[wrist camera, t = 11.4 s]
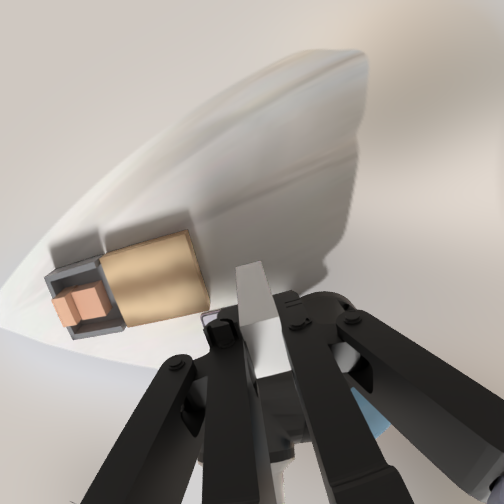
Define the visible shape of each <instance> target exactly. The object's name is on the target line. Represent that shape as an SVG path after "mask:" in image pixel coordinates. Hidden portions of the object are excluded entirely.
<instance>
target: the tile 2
mask: <svg viewBox="0 0 504 504" xmlns="http://www.w3.org/2000/svg"><path fill="white" fill-rule="evenodd" d="M71 295H72V297H73V300H74V302H75V304H76V307H77V309H78V311H79V313H80V316H81V318H82V320H86V319H91V318H97V317H102V316H106V315H107V314H108V313H109V311H110V310H111V309H112V305H111V303H110V300H109V298H108V295H107V293H106V290H105V288H104V285H103V282H102V280H100V281H96V282H92V283H88V284H83V285H79V286H78V287H76V288H75V289H74V290H73V291H72V292H71Z"/></svg>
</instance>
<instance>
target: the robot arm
mask: <svg viewBox="0 0 504 504" xmlns="http://www.w3.org/2000/svg"><path fill="white" fill-rule="evenodd" d="M235 269H236V284H237V298H238V305H235V306H231V307H227V308H223V309H221V310H220V311H219V313H218V314H217V319H214V320H212V321H211V322H209V323H208V324H207V325H206V326H205V327H204V329H203V331H204V334H205V336H206V339H207V341H208V344H209V346H210V352H209V353H208V354H206V355H204V356H202V357H200V358H198V359H195V360H192V357H191V356H189V355H187V354H179V355H175V356H172V357H170V358H169V359H167V360H166V361H165V362H164V363H163V364H162V365H161V367H160V369H159V370H158V372H157V374H156V376H155V377H154V379H153V380H152V382H151V384H150V385H149V387H148V389H147V390H146V392H145V394H144V395H143V397H142V399H141V400H140V402H139V404H138V405H137V407H136V409H135V410H134V412H133V414H132V415H131V417H130V419H129V420H128V422H127V424H126V425H125V427H124V429H123V430H122V432H121V434H120V436H119V437H118V439H117V441H116V442H115V444H114V446H113V448H112V449H111V451H110V453H109V454H108V456H107V458H106V459H105V461H104V463H103V465H102V466H101V468H100V470H99V472H98V473H97V475H96V477H95V479H94V480H93V482H92V484H91V486H90V487H89V489H88V491H87V493H86V494H85V496H84V498H83V500H82V502H81V503H80V504H181V502H182V499H183V497H184V494H185V491H186V488H187V486H188V483H189V480H190V477H191V474H192V472H193V469H194V466H195V463H196V460H197V458H198V464H199V465H201V466H202V467H203V485H202V504H285V495H284V480H283V472H284V470H285V468H286V467H287V466H288V465H289V464H290V463H291V462H292V461H293V460H294V459H295V454H294V444H297V443H304V442H312V444H313V447H314V451H315V453H316V457H317V461H318V464H319V468H320V471H321V475H322V478H323V482H324V485H325V489H326V492H327V496H328V499H329V503H330V504H414V502H413V500H412V498H411V496H410V494H409V492H408V489H407V488H406V485H405V483H404V481H403V479H402V477H401V475H400V474H399V472H398V470H397V469H396V468H395V467H394V466H390V465H388V464H387V462H386V460H385V459H384V457H383V455H382V452H381V450H380V449H379V446H378V444H377V442H376V440H375V439H376V438H377V437H379V436H380V435H381V434H382V433H383V432H384V431H385V430H386V429H387V428H388V427H389V426H390V425H391V424H392V425H393V426H394V427H395V428H396V429H397V430H398V431H399V432H400V433H401V434H403V436H405V437H406V438H407V439H408V440H409V441H410V442H411V443H412V444H413V445H414V446H415V447H416V448H417V449H418V450H419V451H420V452H421V453H423V454H424V455H425V456H426V457H427V458H428V459H429V460H430V461H431V462H432V463H433V464H434V465H435V466H436V467H437V468H439V469H440V470H441V471H442V472H443V473H444V474H445V475H446V476H447V477H448V478H449V479H451V480H452V481H453V482H454V483H455V484H456V485H457V486H458V487H459V488H461V489H462V490H463V491H465V492H466V493H467V494H469V495H470V496H472V497H474V498H476V499H477V500H479V501H481V502H484V503H486V504H504V400H503V399H501V398H500V397H499V396H497V395H496V394H494V393H492V392H491V391H489V390H488V389H486V388H485V387H483V386H482V385H480V384H479V383H477V382H476V381H474V380H472V379H471V378H469V377H468V376H466V375H465V374H463V373H462V372H460V371H459V370H457V369H455V368H454V367H452V366H451V365H449V364H448V363H446V362H444V361H443V360H441V359H440V358H438V357H437V356H435V355H434V354H432V353H430V352H429V351H427V350H426V349H424V348H423V347H421V346H420V345H418V344H416V343H415V342H413V341H412V340H410V339H408V338H407V337H405V336H404V335H402V334H401V333H399V332H397V331H396V330H394V329H392V328H391V327H389V326H388V325H386V324H385V323H383V322H382V321H380V320H379V319H377V318H375V317H374V316H372V315H371V314H369V313H367V312H365V311H363V310H357V309H356V308H355V307H354V306H353V304H352V303H351V302H350V301H349V300H348V299H347V298H345V297H344V296H342V295H340V294H337V293H333V292H326V291H323V292H315V293H311V294H308V295H305V296H303V297H301V298H299V296H298V294H297V293H296V292H294V291H292V290H290V291H286V292H282V293H279V294H275V295H272V293H271V290H270V287H269V284H268V281H267V278H266V275H265V272H264V269H263V266H262V263H261V261H257V262H253V263H249V264H245V265H241V266H238V267H235Z"/></svg>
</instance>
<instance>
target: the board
mask: <svg viewBox="0 0 504 504" xmlns="http://www.w3.org/2000/svg"><path fill="white" fill-rule="evenodd" d="M99 260H100V262H101V265H102V268H103V270H104V273H105V276H106V278H107V281H108V283H109V286H110V288H111V291H112V293H113V295H114V298H115V300H116V303H117V305H118V307H119V309H120V312H121V314H122V316H123V318H124V321H125V323H126V325H127V327H133V326H138V325H143V324H148V323H153V322H158V321H163V320H168V319H172V318H177V317H182V316H186V315H191V314H195V313H199V312H204V311H208V310H209V309H210V299H209V296H208V293H207V290H206V287H205V284H204V281H203V278H202V274H201V271H200V268H199V265H198V262H197V259H196V255H195V252H194V249H193V246H192V242H191V239H190V236H189V232H188V230H184V231H180V232H177V233H173V234H170V235H166V236H163V237H159V238H156V239H152V240H149V241H145V242H142V243H138V244H135V245H131V246H128V247H125V248H121V249H118V250H115V251H111V252H108V253H106V254H105V255H103V256H102V257H101V258H100V259H99Z"/></svg>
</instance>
